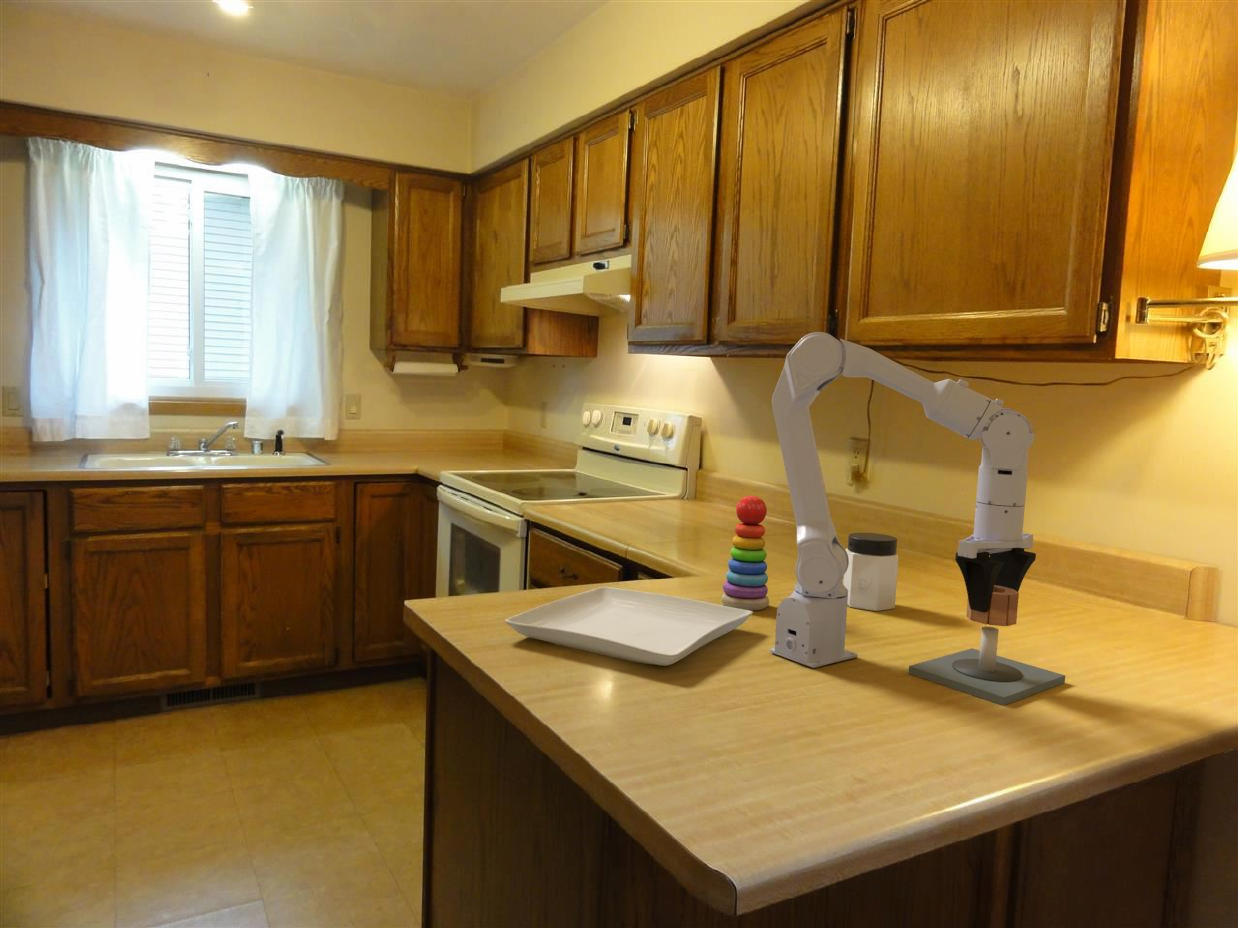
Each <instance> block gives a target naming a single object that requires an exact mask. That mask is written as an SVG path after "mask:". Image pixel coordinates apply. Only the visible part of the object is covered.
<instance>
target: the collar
mask: <svg viewBox="0 0 1238 928" xmlns="http://www.w3.org/2000/svg"><path fill="white" fill-rule="evenodd" d="M1019 595H1020V592H1019V591H1018V592H1017V591H1016V590H1014V589H1011V588H1007V587H1002V586H998V585H997V586H996V585H994V588H993V593H992V599H991V604H990V607H989V610H988V612H985V613H984V612H980V611H976V610H972V609H970V605H969V600H968V599H967V603H966V604H967V605H966V618H968V619H969V620H970V621H971V622H975V623H978V624H979V623H980V624H983V625H988V626H996V627H997V626H998V627H1010V626H1013V625H1016V624H1017V618H1018V607H1019Z"/></svg>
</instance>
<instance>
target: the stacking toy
mask: <svg viewBox="0 0 1238 928" xmlns="http://www.w3.org/2000/svg"><path fill="white" fill-rule="evenodd" d="M767 509H768V508H767V505H766V503H765V501H764V500H763V499H762V498H761V497H759V496H756V495H746V496H744V497H742V498H741V499H740V500H739V501H738V502H737V504H736V509H735V510H736V511H735V513H736V516H737V518H738V519H739V521H740V522H739V523H738V524H736V525H735V526H734V527H735V528H734V532H735V534H736V535H734V536H733V537H732V539H731V542H732V545H733V547H732V548H731V549H730V556H731V557H732V558H730V559H729V560H728V569H729V570H727V572H726V574H725V578H726V580H727V581H725V582H724V583H723V585H722V591H723V592H724V593H722V594H721V603H722V604H723V606H728V607H733V608H738V609H744V610H749V611H752V612H754V611H755V612H756V611H761V610H764V609H766V608H767V607H769V604H770V599H769V597H768V595H767V594H768V592H769V588H768V586H767V582H768V580H769V576H768V574H767V573H766V572H767V570H768V564H767V563H766V561H765V560H766V559H767V551H766V550H765V549H764V548H765V546H766V540H765V539H764V538H763V536H765V534H766V528H765V526H763V525H762V524H761V523H762V522H763V521H764V520H765V518H766V517H767V513H768V512H767V511H768V510H767Z"/></svg>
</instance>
